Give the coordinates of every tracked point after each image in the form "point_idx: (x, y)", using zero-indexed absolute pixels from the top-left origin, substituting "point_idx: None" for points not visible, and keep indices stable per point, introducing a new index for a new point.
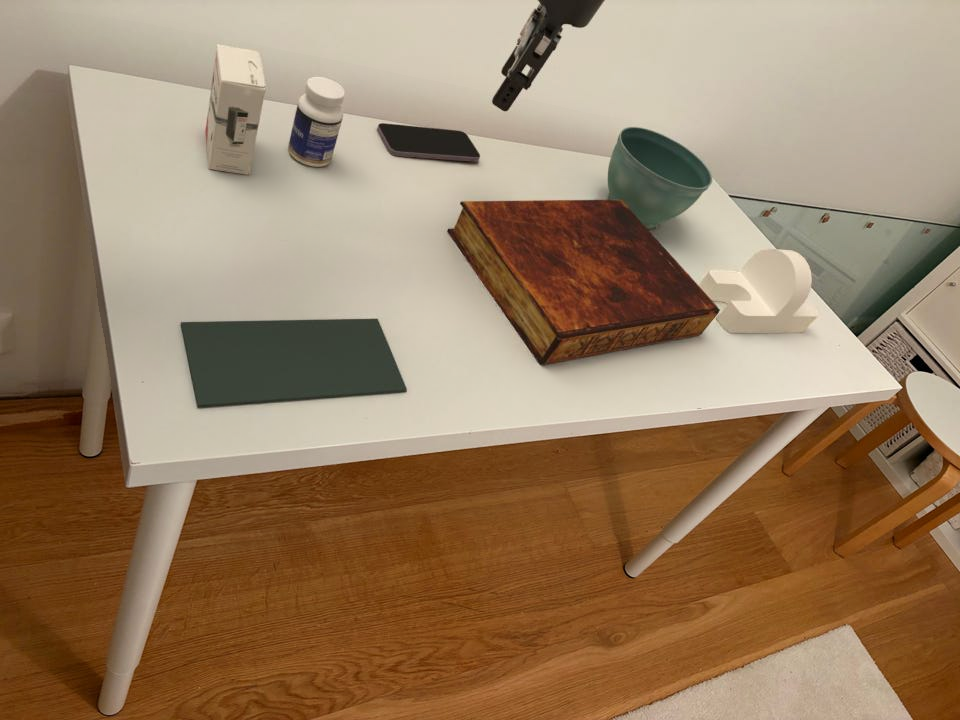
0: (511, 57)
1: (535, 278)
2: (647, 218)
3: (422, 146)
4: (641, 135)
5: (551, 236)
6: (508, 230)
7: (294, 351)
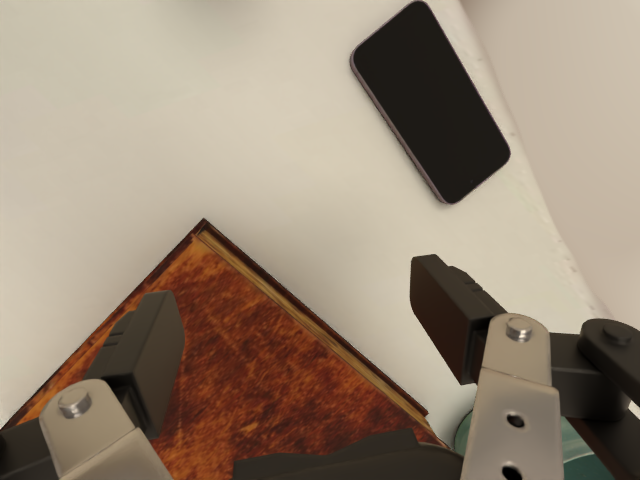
0: (444, 296)
1: None
2: None
3: (406, 102)
4: None
5: (233, 392)
6: None
7: None
